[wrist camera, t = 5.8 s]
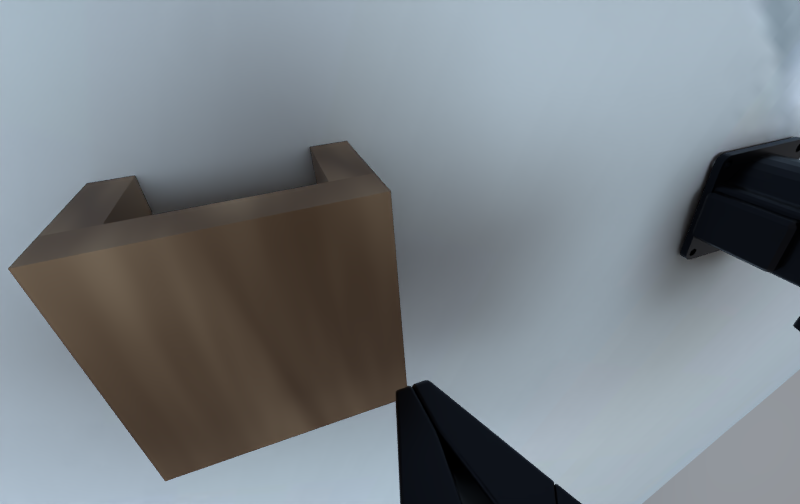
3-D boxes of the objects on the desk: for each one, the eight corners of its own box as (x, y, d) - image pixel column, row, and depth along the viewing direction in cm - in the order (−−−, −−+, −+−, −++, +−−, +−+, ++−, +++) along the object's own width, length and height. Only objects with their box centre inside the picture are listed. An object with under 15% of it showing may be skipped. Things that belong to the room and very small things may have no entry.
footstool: (390, 191, 10) (7, 268, 8) (407, 396, 14) (165, 481, 12) (346, 140, 14) (86, 183, 12) (370, 313, 18) (183, 365, 16)
